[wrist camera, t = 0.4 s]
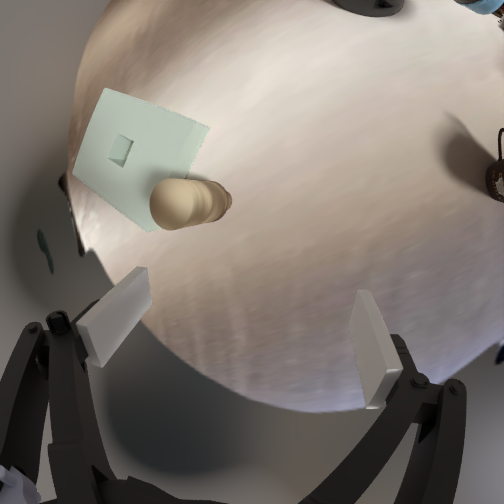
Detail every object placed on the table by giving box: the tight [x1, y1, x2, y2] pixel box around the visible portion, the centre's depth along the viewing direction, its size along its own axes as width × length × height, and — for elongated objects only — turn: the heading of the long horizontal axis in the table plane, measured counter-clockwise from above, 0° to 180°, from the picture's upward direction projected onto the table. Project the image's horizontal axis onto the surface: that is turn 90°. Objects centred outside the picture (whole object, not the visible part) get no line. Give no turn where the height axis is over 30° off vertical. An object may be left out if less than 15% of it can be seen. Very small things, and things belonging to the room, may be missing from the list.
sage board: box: [72, 88, 210, 232], centre depth 45 cm, size 20×26×5 cm
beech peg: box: [149, 178, 232, 230], centre depth 37 cm, size 6×6×15 cm
